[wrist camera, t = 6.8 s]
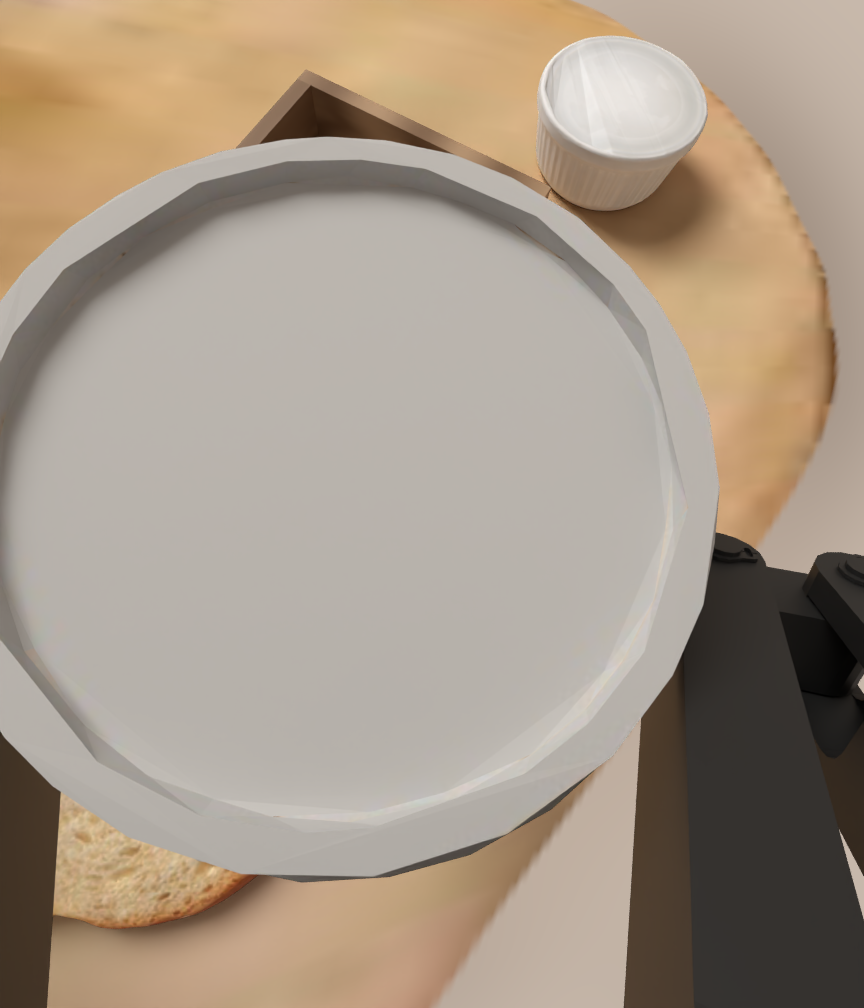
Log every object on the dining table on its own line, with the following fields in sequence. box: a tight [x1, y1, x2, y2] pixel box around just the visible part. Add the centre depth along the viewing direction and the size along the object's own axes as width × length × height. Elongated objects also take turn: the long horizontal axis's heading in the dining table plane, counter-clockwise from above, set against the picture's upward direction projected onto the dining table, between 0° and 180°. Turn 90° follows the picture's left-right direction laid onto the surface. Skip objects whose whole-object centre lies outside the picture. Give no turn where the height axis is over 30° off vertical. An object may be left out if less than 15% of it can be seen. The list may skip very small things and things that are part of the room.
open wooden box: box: [236, 70, 551, 199], centre depth 33 cm, size 18×18×4 cm
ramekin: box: [536, 36, 708, 211], centre depth 37 cm, size 11×11×5 cm
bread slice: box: [53, 792, 259, 929], centre depth 25 cm, size 18×18×4 cm
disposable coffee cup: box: [0, 137, 720, 882], centre depth 12 cm, size 10×10×12 cm
